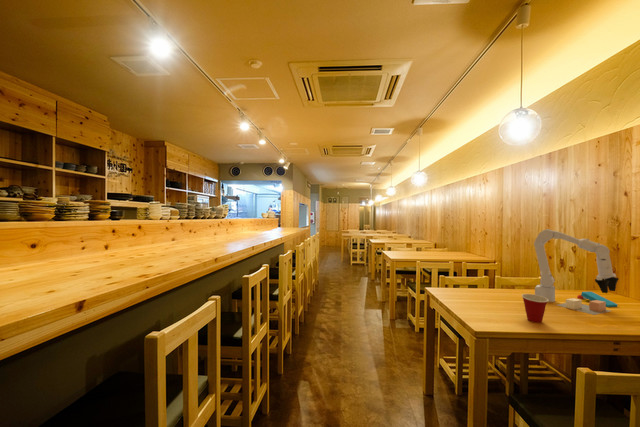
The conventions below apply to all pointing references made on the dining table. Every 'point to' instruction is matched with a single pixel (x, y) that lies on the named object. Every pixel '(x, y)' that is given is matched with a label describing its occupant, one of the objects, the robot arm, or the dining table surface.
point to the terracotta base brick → (597, 305)
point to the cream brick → (573, 303)
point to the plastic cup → (534, 307)
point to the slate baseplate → (585, 309)
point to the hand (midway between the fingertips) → (608, 291)
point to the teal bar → (596, 298)
